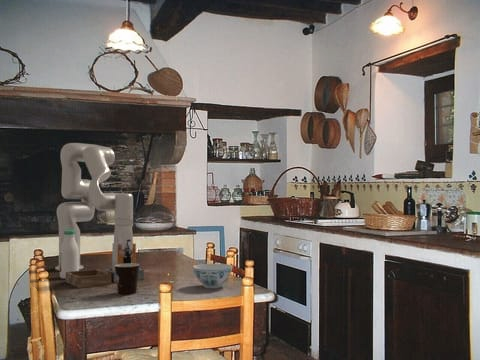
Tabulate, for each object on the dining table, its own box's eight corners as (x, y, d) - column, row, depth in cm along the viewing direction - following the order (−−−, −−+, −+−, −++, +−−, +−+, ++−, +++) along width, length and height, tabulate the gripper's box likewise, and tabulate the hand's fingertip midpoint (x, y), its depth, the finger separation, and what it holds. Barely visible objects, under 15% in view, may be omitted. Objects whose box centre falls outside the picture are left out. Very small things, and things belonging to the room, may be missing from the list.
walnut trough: (65, 282, 201) (65, 272, 201) (97, 278, 209) (97, 269, 209) (78, 288, 188) (78, 277, 188) (111, 284, 196) (111, 274, 196)
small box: (117, 276, 202) (117, 244, 203) (111, 274, 208) (112, 243, 208) (136, 274, 207) (136, 243, 207) (130, 272, 212) (130, 241, 212)
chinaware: (207, 281, 200) (207, 262, 201) (239, 285, 193) (239, 265, 193) (185, 288, 188) (185, 267, 188) (218, 291, 180) (218, 270, 180)
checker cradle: (103, 278, 208) (103, 269, 208) (133, 275, 215) (133, 266, 216) (113, 282, 199) (113, 272, 199) (143, 279, 206) (143, 269, 207)
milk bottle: (82, 276, 214) (82, 230, 215) (71, 279, 207) (71, 231, 207) (67, 275, 217) (67, 229, 217) (55, 278, 209) (56, 230, 210)
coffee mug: (116, 290, 183) (117, 263, 183) (140, 290, 183) (140, 263, 184) (111, 297, 171) (111, 268, 171) (136, 297, 172) (136, 268, 172)
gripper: (107, 222, 213) (107, 264, 212) (123, 224, 199) (123, 269, 198) (124, 221, 217) (124, 262, 217) (140, 223, 203) (140, 267, 202)
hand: (123, 265), depth 207 cm, fingers closed on small box, 6 cm apart
